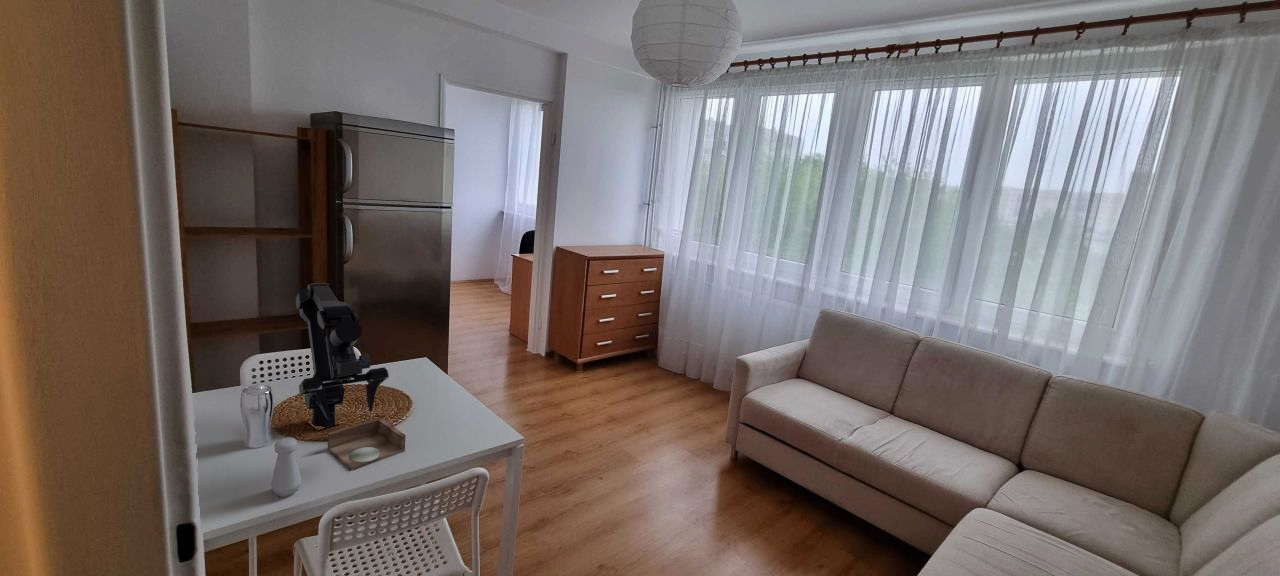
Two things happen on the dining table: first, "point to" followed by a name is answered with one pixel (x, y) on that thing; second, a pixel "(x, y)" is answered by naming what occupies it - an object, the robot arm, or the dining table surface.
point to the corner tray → (366, 443)
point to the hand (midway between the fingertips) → (350, 415)
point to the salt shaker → (286, 468)
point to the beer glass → (257, 414)
